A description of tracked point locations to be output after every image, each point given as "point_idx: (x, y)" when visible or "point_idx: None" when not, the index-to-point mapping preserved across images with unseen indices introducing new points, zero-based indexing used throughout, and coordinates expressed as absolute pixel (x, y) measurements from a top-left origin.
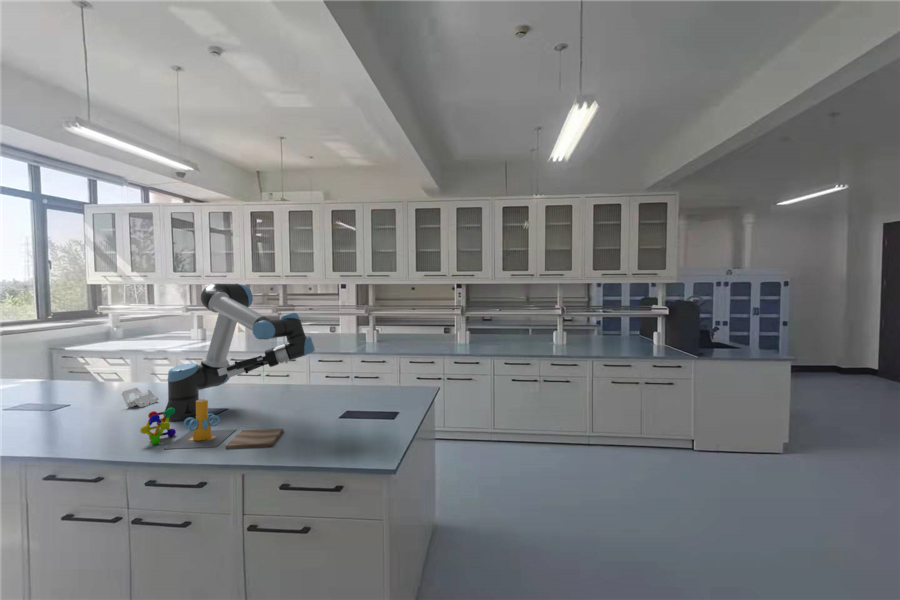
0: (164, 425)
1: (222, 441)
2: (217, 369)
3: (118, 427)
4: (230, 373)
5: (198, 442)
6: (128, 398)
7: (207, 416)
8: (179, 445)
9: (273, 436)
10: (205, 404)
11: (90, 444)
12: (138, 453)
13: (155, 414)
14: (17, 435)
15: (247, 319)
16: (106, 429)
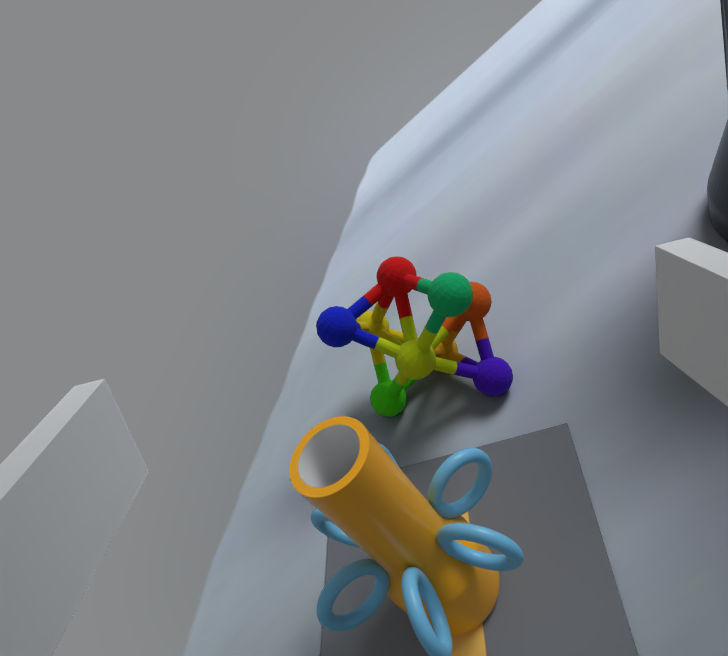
0: (396, 365)
1: None
2: (75, 387)
3: (577, 149)
4: (688, 319)
5: (391, 605)
6: None
7: (392, 558)
8: None
9: None
10: (320, 510)
11: (413, 230)
12: (311, 424)
13: (327, 314)
14: (483, 64)
15: None
16: (551, 143)
